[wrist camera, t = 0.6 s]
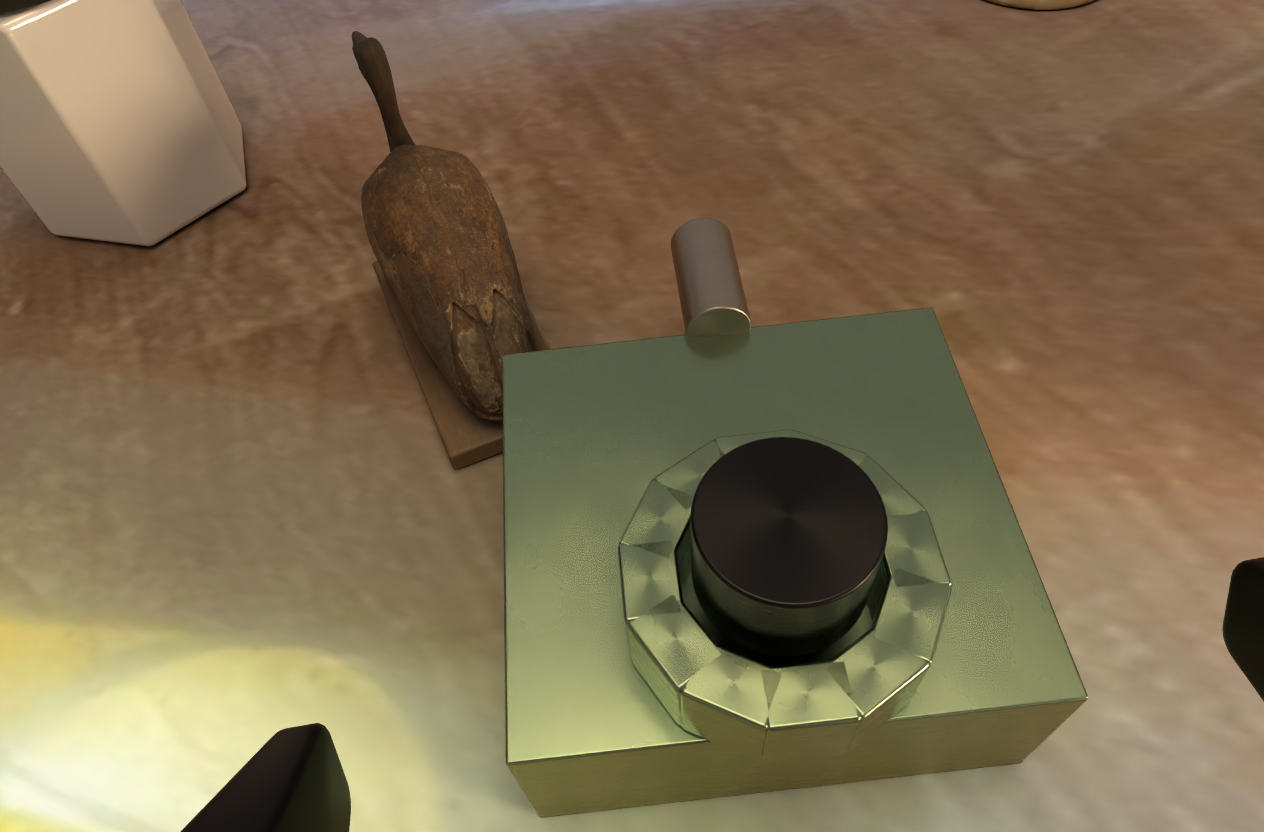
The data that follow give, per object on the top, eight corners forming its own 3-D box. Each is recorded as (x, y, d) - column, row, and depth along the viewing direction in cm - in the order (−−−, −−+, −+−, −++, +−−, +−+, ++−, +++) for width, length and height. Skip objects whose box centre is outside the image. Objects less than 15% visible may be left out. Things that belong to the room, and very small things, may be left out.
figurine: (350, 211, 36) (266, 4, 29) (456, 176, 37) (399, -33, 30) (456, 474, 28) (376, 277, 21) (587, 421, 29) (551, 216, 22)
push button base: (1029, 786, 22) (1145, 688, 16) (539, 842, 22) (483, 762, 16) (901, 409, 29) (950, 247, 23) (528, 450, 29) (486, 298, 23)
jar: (60, 142, 40) (-144, -154, 30) (244, 100, 41) (103, -199, 31) (43, 276, 35) (-209, -30, 25) (254, 223, 36) (90, -89, 26)
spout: (749, 348, 25) (752, 304, 24) (686, 355, 25) (685, 311, 24) (729, 259, 27) (731, 213, 26) (671, 265, 27) (669, 220, 26)
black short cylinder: (889, 645, 17) (912, 594, 15) (704, 667, 17) (705, 617, 15) (845, 488, 19) (861, 425, 18) (681, 506, 19) (679, 446, 17)
